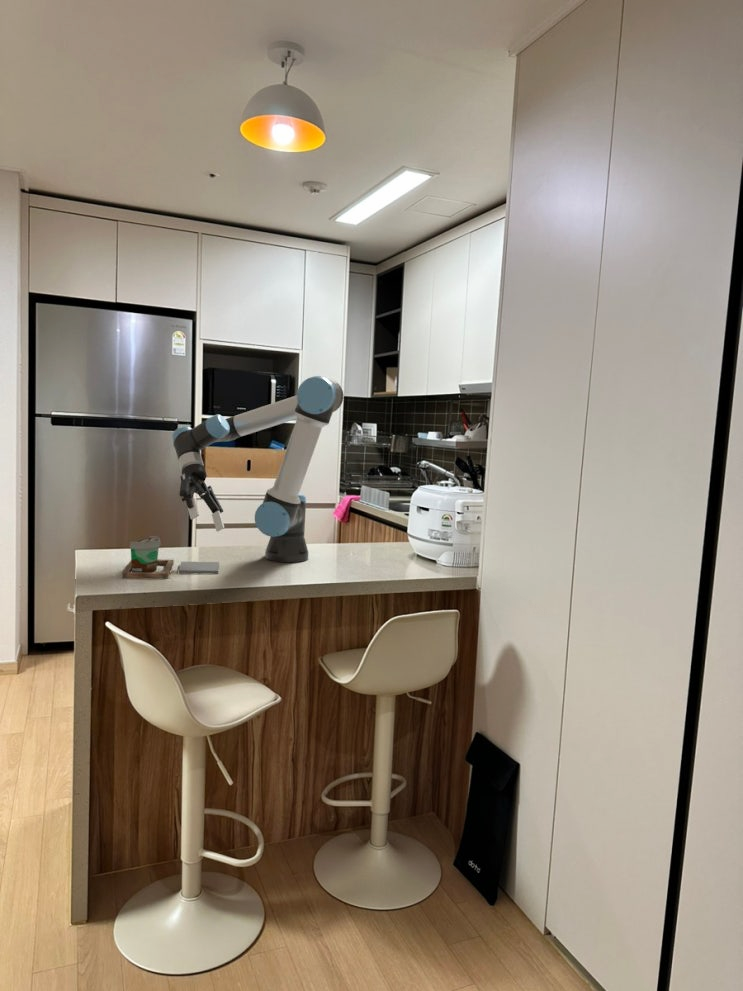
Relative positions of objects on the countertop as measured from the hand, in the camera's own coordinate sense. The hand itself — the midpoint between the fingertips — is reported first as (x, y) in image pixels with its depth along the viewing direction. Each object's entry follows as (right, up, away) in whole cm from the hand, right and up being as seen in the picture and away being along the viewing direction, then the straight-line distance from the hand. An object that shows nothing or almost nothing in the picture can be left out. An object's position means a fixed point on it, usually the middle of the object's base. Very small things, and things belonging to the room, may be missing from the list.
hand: (208, 523), depth 216 cm
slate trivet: (-4, -15, +3) cm, 15 cm away
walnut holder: (-18, -14, -3) cm, 23 cm away
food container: (-18, -15, -3) cm, 23 cm away
